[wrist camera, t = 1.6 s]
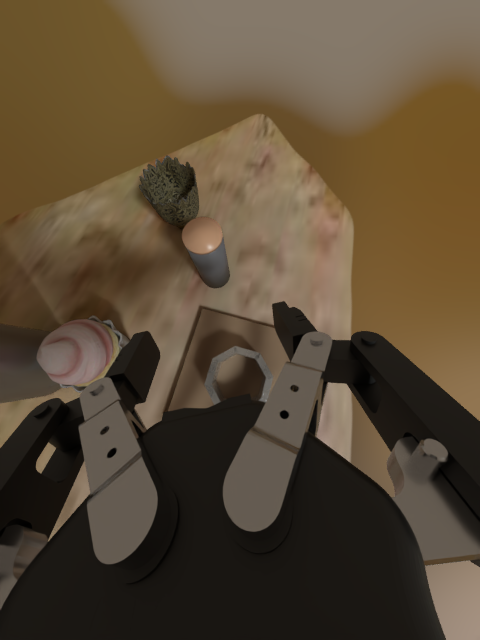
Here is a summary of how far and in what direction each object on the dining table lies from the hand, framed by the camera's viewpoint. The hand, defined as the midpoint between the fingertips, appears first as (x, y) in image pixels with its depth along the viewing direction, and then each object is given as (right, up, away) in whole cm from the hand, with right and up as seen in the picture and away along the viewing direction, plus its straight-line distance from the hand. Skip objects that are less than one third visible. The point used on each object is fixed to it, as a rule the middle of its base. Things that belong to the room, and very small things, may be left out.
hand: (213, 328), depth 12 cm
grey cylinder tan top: (-2, +8, +18) cm, 20 cm away
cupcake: (-17, -4, +16) cm, 24 cm away
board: (+2, -8, +15) cm, 17 cm away
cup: (-8, +17, +21) cm, 28 cm away
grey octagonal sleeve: (+2, -7, +14) cm, 16 cm away
